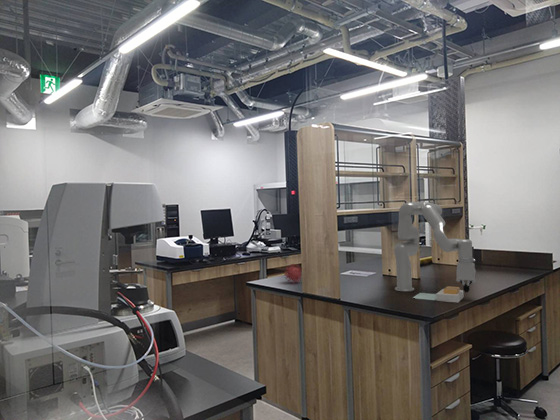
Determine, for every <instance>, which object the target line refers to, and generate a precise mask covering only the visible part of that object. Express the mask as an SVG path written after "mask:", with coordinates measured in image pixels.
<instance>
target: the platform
mask: <svg viewBox="0 0 560 420" xmlns="http://www.w3.org/2000/svg"><path fill="white" fill-rule="evenodd" d="M444 289H445V288H442V289H441V290H439V291H438V292H437V293H435V294H436V300H435V301H439V302H447V303H460V301H461V300H463V298H464V296H465V295H464V289H463V290H462V289H460V291H459V292H458V293H457V294H445V293H444Z"/></svg>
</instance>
